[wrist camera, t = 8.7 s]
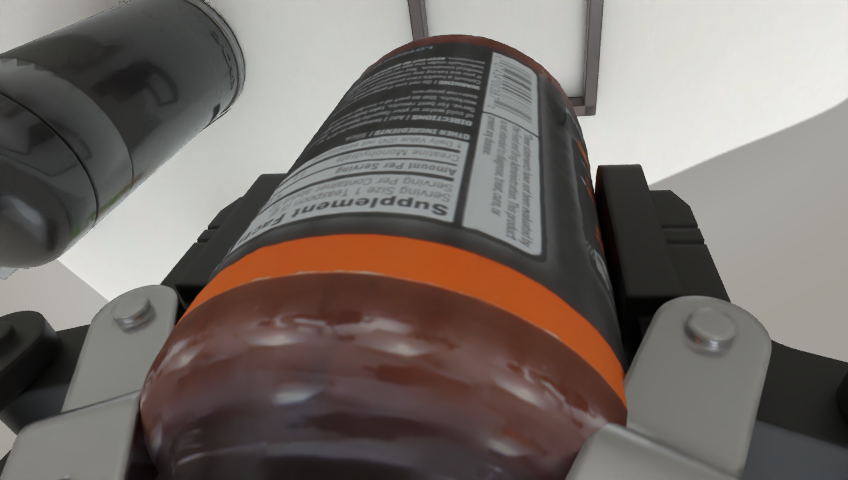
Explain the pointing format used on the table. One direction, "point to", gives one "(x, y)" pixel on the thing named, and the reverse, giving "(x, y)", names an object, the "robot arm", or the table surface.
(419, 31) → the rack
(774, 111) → the table surface
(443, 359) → the supplement bottle
